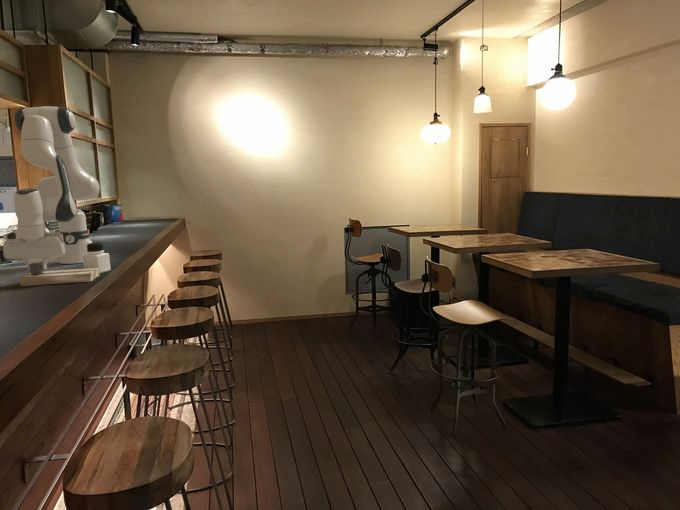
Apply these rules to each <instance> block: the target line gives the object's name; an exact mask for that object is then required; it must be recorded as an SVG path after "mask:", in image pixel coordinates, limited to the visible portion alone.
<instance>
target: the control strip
mask: <svg viewBox="0 0 680 510" xmlns="http://www.w3.org/2000/svg"><path fill="white" fill-rule="evenodd" d="M100 275H101V273H100V270H99V268H84V267H83V268H70V269H69V268H68V269H54V270H45V272H43V273H41V274H31V272H30V273H29V272H28V273H27V274H25V275H23V276H21V277H19V283H20V287H27V286H40V285H41V286H42V285H54V284H55V285H57V284H59V285H60V284H71V283H72V284H74V283H85V282H86V283H89V282H92V281H94V280H95V279H97V278H98V277H99V276H100ZM96 277H97V278H96Z"/></svg>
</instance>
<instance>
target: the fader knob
mask: <svg viewBox="0 0 680 510" xmlns="http://www.w3.org/2000/svg"><path fill="white" fill-rule="evenodd" d="M43 263H44V261H36V262H33V263H30V264H29V265H30V270H29V271H30V273H31V274H41V273H43V272H45V271H46V269H41V267H40V265H42V264H43Z"/></svg>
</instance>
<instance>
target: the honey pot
mask: <svg viewBox="0 0 680 510" xmlns="http://www.w3.org/2000/svg"><path fill="white" fill-rule="evenodd" d="M45 228H46V232H51V231H50V230H49V229H48V228H47V227H46V226H45ZM29 259H30V260H29V262H30V263H33V262H36V261H45V260H43V258H29ZM55 260H58V257H49V260H48V262H47V264H50V263H55Z"/></svg>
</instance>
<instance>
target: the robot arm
mask: <svg viewBox="0 0 680 510" xmlns="http://www.w3.org/2000/svg"><path fill="white" fill-rule="evenodd" d="M14 124H15V127H16V129H17V130H18V131H19V132H20V133H21V134H20V150H21V155H22V157H23V159H24V160H26V162H28V163H29V164H31V165H33V166H35V167H37V168H40V169H44V170H46V171H50V172H51V173H52V174H53V175H52V176H48V177H43V178H40V179H39V180H38V181H37V183H36V186H35V188H23V189H18V190H16V191H15V192H14V211H15V216H16V218H17V229H14V230H12V231H10V232H7V233H4V235H3V239H4V242H3V246H2V250H3V251H2V253H3V257H4V259H6V260H21V259H22V261H23V264H25V266H27V270H28V271H30V265H29V264H30V259H29V258H43V260H45V261H44V263H43V264H42V265H40V267H41V269H45V270H47V268H48V267H47V265H48V263H47V262H48V260H49V257H58V260H55V262H54V264H55V263H56V264H66V265H68V264H69V265H70V264H71V265H72V264H82V263H83V256H84V255H88V253H87V246H86V245H87V244H88V243H93V242H94V241H92V240H91V238H90V229H88V228H87V227H88V225H87V217H86V214H85V212H84V211H83V210H81V209H80V208H77V206H76V202H75V201H86V200H89V199H93V198H96V197H97V196H98V195H99V192H100V183H99V181H98V180H97V179H96V178H95V176H92V175H90V174H89V173H88V172H87V171H85V170H84V169H83V167H82V166H81V165H80V163H79V162H78V159H77V155H76V152H75V149H74V144H73V139H72V135H71V133H72V132H73V131H74V130H75V128H76V117H75V114H74V112H73V111H72V110H71V109H70V108H69V107H66V106H53V105H52V106H51V105H47V106H46V105H45V106H44V105H42V106H33V107H22V108H18V109H17V110H16V111H15V112H14ZM46 222H47V223H48V222H49V223H51V222H58V227H59V231H50V232H46V228H47V227H46ZM45 227H46V228H45Z"/></svg>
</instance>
